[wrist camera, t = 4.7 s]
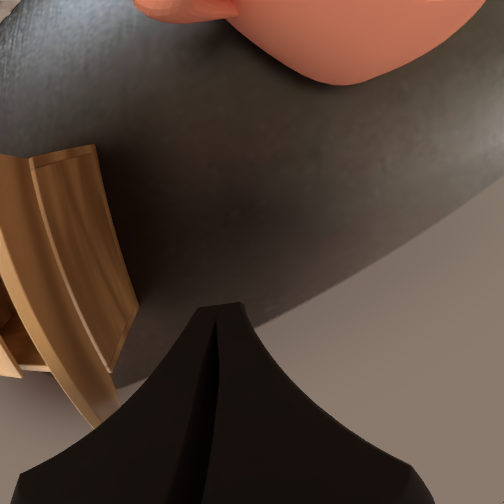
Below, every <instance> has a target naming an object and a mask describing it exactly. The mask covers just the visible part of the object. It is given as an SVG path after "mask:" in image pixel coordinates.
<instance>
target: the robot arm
mask: <svg viewBox="0 0 504 504" xmlns="http://www.w3.org/2000/svg"><path fill="white" fill-rule="evenodd" d="M10 504H435V502H434V500H433V497H432V495H431V493H430V492H429V490H428V488H427V487H426V485H425V484H424V482H423V481H422V479H421V478H420V476H419V475H418V474H417V472H416V471H415V470H414V469H413V467H412V466H411V465H409V464H407V463H405V462H403V461H401V460H399V459H397V458H395V457H394V456H391V455H390V454H388V453H386V452H384V451H382V450H381V449H379V448H377V447H375V446H374V445H372V444H370V443H369V442H367V441H365V440H364V439H362V438H361V437H359V436H358V435H356V434H355V433H353V432H352V431H350V430H349V429H347V428H346V427H345V426H343V425H342V424H340V423H339V422H338V421H337V420H335V419H334V418H333V417H332V416H330V415H329V414H328V413H327V412H325V411H324V410H323V409H322V408H320V407H319V406H318V405H317V404H315V403H314V402H313V401H312V400H311V399H310V398H309V397H308V396H307V395H306V394H305V393H304V392H303V391H302V390H300V388H298V386H296V384H295V383H293V381H292V380H291V379H290V378H289V377H288V376H287V375H286V374H285V373H284V371H283V370H282V369H281V368H280V367H279V365H278V364H277V363H276V362H275V360H274V359H273V358H272V356H271V355H270V354H269V352H268V351H267V350H266V348H265V347H264V345H263V344H262V342H261V341H260V339H259V337H258V336H257V334H256V333H255V331H254V329H253V327H252V325H251V323H250V321H249V319H248V317H247V314H246V311H245V306H244V304H242V303H241V302H236V303H229V304H221V305H214V306H207V307H199V308H198V309H197V310H196V312H195V313H194V315H193V316H192V318H191V319H190V321H189V322H188V324H187V326H186V327H185V329H184V330H183V332H182V333H181V335H180V336H179V338H178V339H177V341H176V342H175V343H174V345H173V346H172V348H171V349H170V351H169V352H168V353H167V355H166V356H165V357H164V359H163V360H162V361H161V363H160V364H159V365H158V366H157V368H156V369H155V370H154V371H153V373H152V374H151V375H150V376H149V378H148V379H147V380H146V381H145V382H144V384H143V385H142V386H141V387H140V388H139V389H138V390H137V391H136V392H135V393H134V394H133V395H132V396H131V397H130V398H129V399H128V400H127V401H126V402H125V403H124V404H123V405H122V406H121V407H120V408H119V409H118V410H117V411H115V412H114V413H113V414H112V415H111V416H110V417H108V418H107V419H106V420H105V421H104V422H103V423H101V424H100V425H99V426H98V427H97V428H95V429H94V430H93V431H92V432H90V433H89V434H88V435H86V436H85V437H83V438H82V439H81V440H79V441H78V442H76V443H75V444H73V445H72V446H70V447H69V448H67V449H66V450H64V451H63V452H61V453H59V454H58V455H56V456H54V457H53V458H51V459H49V460H47V461H45V462H43V463H41V464H39V465H37V466H35V467H34V468H32V469H30V470H28V471H26V472H23V473H21V474H20V476H19V479H18V481H17V484H16V487H15V490H14V493H13V497H12V500H11V503H10ZM502 504H504V502H503V503H502Z"/></svg>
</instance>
